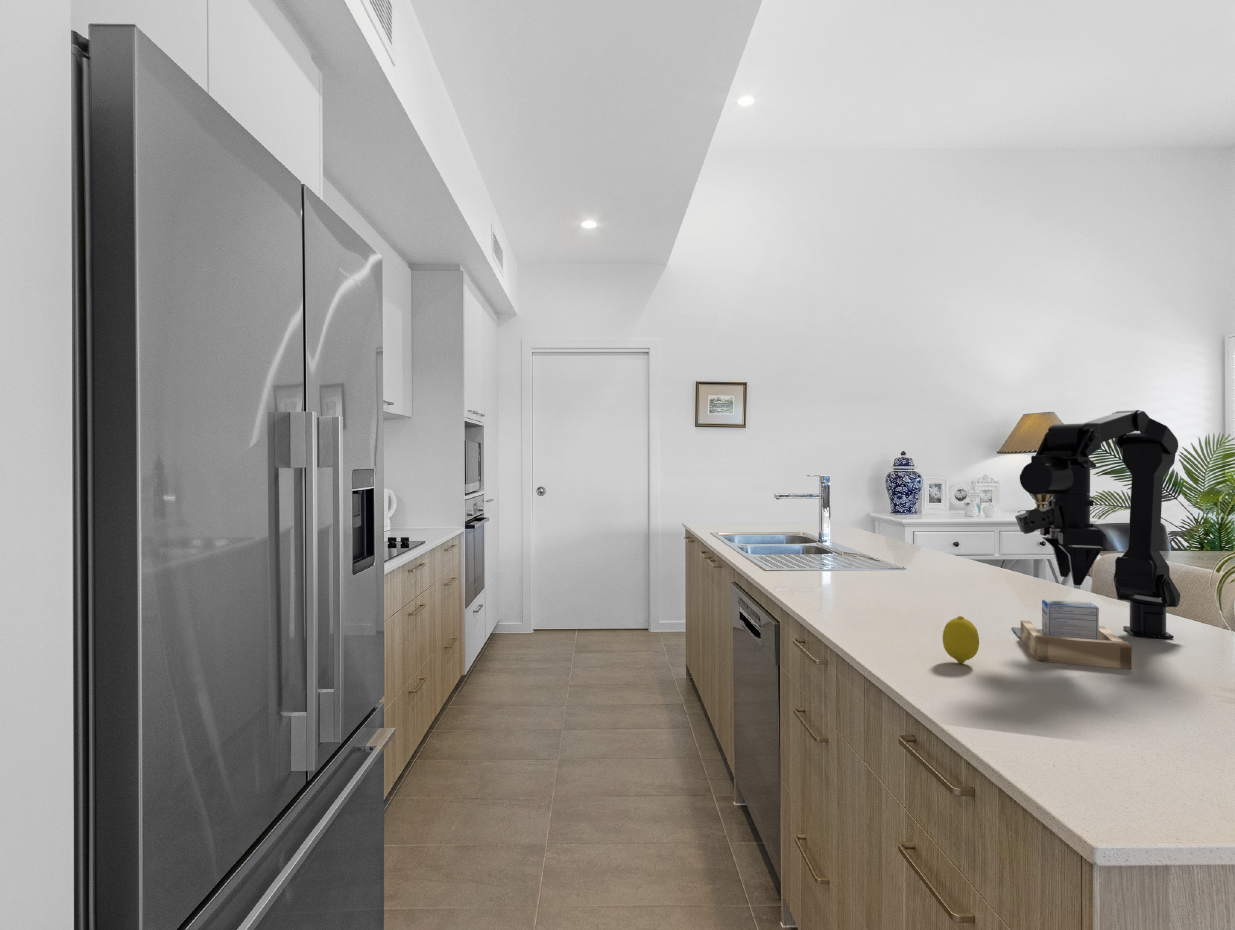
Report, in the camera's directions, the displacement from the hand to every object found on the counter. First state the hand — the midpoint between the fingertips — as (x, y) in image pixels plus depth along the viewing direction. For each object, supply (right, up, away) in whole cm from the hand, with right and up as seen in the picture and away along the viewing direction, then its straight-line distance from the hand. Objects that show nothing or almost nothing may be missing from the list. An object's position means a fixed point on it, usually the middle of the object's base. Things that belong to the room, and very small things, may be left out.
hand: (1070, 580), depth 124 cm
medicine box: (0, -13, 0) cm, 13 cm away
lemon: (-23, -13, -7) cm, 28 cm away
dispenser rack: (0, -13, -1) cm, 13 cm away
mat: (+3, -12, +10) cm, 16 cm away
